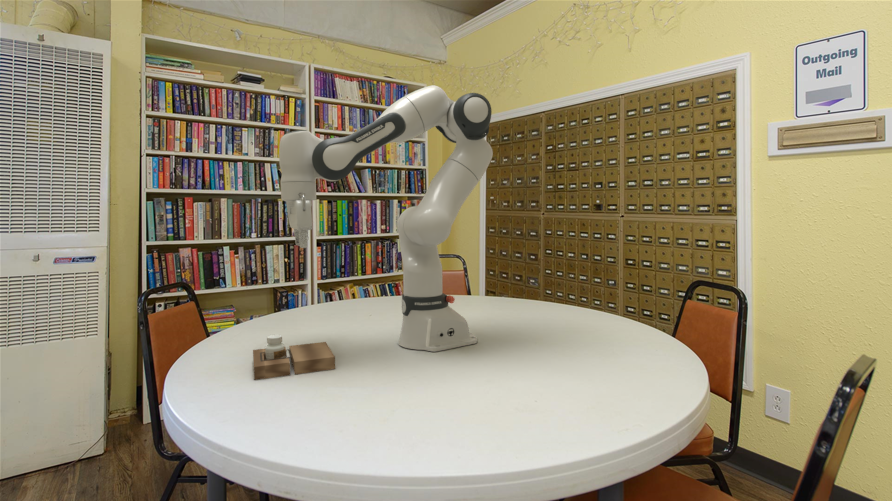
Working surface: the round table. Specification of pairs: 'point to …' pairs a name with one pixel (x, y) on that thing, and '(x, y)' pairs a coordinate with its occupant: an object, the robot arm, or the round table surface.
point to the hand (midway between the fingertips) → (301, 246)
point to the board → (294, 361)
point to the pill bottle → (274, 347)
